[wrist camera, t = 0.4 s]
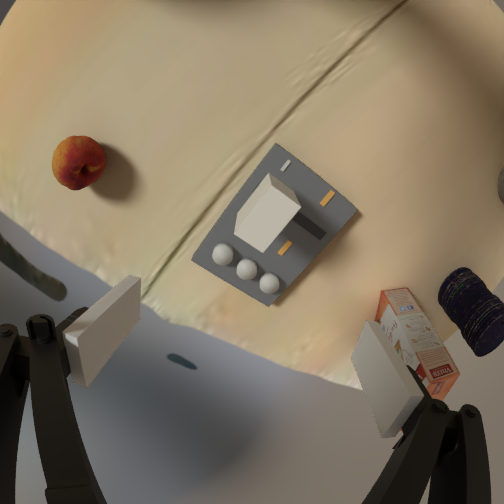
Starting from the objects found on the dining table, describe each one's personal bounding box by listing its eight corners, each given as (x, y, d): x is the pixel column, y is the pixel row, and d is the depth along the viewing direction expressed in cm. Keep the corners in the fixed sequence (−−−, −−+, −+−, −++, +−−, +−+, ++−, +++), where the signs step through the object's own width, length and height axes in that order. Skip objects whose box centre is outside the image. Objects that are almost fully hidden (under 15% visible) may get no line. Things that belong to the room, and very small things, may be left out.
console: (275, 142, 35) (277, 145, 32) (353, 204, 38) (361, 213, 35) (193, 253, 42) (189, 265, 39) (268, 299, 46) (269, 312, 43)
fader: (267, 166, 34) (271, 185, 25) (289, 183, 35) (301, 207, 26) (238, 204, 36) (233, 233, 28) (261, 219, 37) (262, 253, 28)
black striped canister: (463, 305, 47) (497, 351, 34) (431, 310, 47) (465, 362, 34) (479, 265, 43) (521, 308, 30) (446, 267, 43) (490, 316, 30)
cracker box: (378, 290, 45) (428, 384, 26) (407, 286, 45) (463, 372, 26) (366, 346, 51) (397, 434, 33) (392, 341, 51) (428, 424, 32)
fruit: (94, 193, 38) (65, 211, 31) (63, 159, 35) (31, 172, 28) (122, 155, 35) (94, 166, 28) (89, 120, 32) (57, 125, 25)
